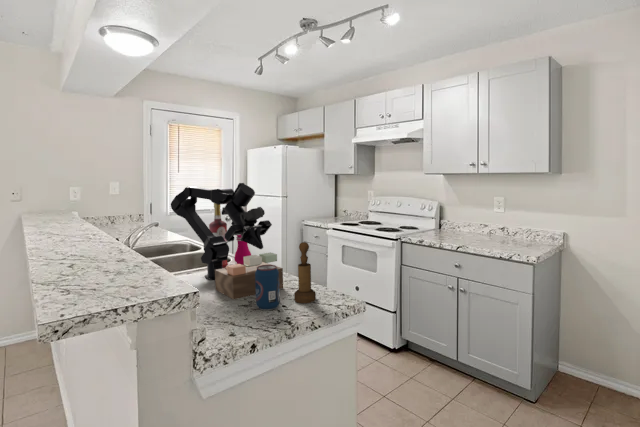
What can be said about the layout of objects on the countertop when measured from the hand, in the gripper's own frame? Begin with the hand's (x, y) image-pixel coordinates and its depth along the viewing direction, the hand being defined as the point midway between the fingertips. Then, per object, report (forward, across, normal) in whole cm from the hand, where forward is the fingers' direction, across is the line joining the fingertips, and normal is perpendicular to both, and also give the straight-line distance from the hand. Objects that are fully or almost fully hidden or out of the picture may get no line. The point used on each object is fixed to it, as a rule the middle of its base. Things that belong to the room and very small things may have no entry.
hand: (262, 248), depth 129 cm
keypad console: (+8, -5, +11) cm, 14 cm away
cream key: (+4, -5, +2) cm, 7 cm away
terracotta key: (+4, -11, +5) cm, 13 cm away
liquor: (-16, +12, +35) cm, 40 cm away
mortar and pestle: (+25, -4, -5) cm, 26 cm away
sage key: (+5, 0, +1) cm, 5 cm away
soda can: (+21, -15, -1) cm, 26 cm away
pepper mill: (-9, +16, +28) cm, 33 cm away
